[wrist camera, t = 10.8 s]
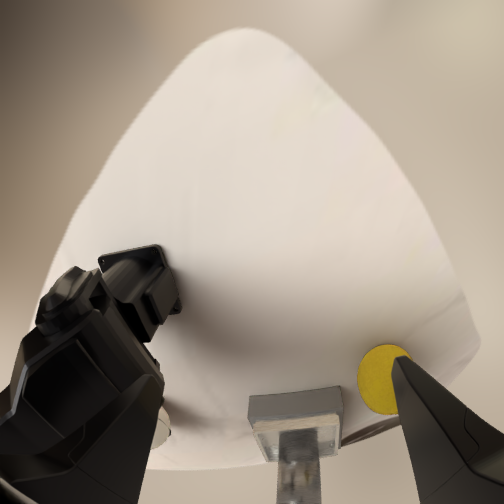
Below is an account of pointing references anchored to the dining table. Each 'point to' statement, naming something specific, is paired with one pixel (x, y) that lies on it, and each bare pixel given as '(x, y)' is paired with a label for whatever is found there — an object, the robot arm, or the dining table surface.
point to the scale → (297, 419)
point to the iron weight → (298, 468)
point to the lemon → (379, 378)
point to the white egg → (161, 429)
